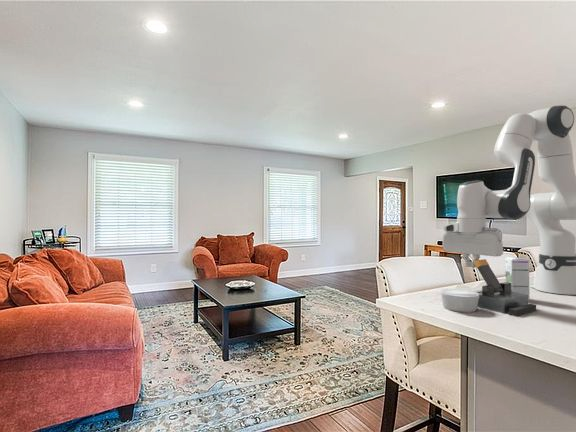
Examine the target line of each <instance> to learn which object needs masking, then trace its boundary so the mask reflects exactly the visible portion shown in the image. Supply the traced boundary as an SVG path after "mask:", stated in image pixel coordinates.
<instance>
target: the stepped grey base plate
mask: <svg viewBox="0 0 576 432" xmlns="http://www.w3.org/2000/svg"><path fill="white" fill-rule="evenodd" d="M499 283H500V284H501V286H502V288H503V291H502V292H498V293H494V286H493V285H487V284H486V285H482V286H481V287H482V288H481V289H478V290H473V291H474V292H477V293H479V295H480V297H479V299H478V305H477V308H480V309H484V310H488V311H493V312H497V313H501V314H507V313H508V314H509V309H510V308H514V307H519V306H523V305H527V304H529V301H528V295H526V294H520V293H514V292H511V283H508V282H506V281H504V282H499Z"/></svg>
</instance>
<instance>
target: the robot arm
mask: <svg viewBox="0 0 576 432" xmlns="http://www.w3.org/2000/svg"><path fill="white" fill-rule="evenodd" d="M574 123H575V114H574V112H573V111H572V109H571V108H569V107H568V106H566V105H553V106H551V107H547V108H546V107H545V108H540V109H537V110H534V111H531V112H529V113H528V112H527V113H524V112H521V113H514V114H513V115H511V116H510V117H508V118H507V120H506V121H505V123H504V125H503V126H502V128H501V130H500V133H499V134H498V136H497V139H496V140H495V144H494V147H493V153H494V156H495V158H496V159H497V160H498V161H499V162H500V163H502V164H504V165H505V166H508V167H514V171H513V178H512V181H511V186H509V187H507V188H506V189H501V190H492V189H490V188H488V187H487V186H486V185H485V183H484V181H483V180H471V181H465V182H462V183H461V184H459V186H458V190H457V194H456V195H457V197H456V206H457V211H458V212H457V217H456V222H453V223H449V224H445V225H444V226H443V232H444V233H443V235H442V249H443V251H444V252H445V253H457V254H462V259H463V260H464V262H465V267H468V268H474V269H476V266H475V264H474V263H473V262H475V261H477V260H480V258H481V256H486V257H487V256H489V257H501V256H502V255H503V254H504V245H503V241H502V240H503V232H502V231H501V230H500V229H498V228H497V227H487V226H486V225H487V224H486V220H487V218H489V219H490V218H491V219H509V220H520V219H522V218H523V217H526V218H528V219H529V220H530V221H531V222H532V223H533V225H535V228H536V229H537V232H538V235H539V249H540V251H539V253H540V254H538V263H539V264H538V265H537V266H536V267H535V268H534V269H535V270H534V278H533V279H534V281H533V284H531V283H530V288H532V289H534V290H537V291H540V292H544V293H550V294H556V295H557V294H558V295H567V296H568V295H569V296H571V295H572V296H576V236H575V234H573V232H571V231H569V230H568V229H566V228H564V227H563V226H562V225H561V224H562V223H561V220H563V221H572V220H573V221H576V172H575V165H574V153H573V146H572V140H571V136H570V131H571V130H572V128H573V126H574ZM536 141H537V146H536V147H537V150H536V152H537V153H536V155H537V158H536V156H535V153H534V152H533V150H532V149H531V147H532V144H533V142H536ZM536 159H537V174H538V178H539V179H540V180H541V181H543V182H544V183H547V184H549V185H551V186H552V188H553V190H554V191H553V192H551V191H550V192H549V191H548V192H538V193H533V194H531V191H532V184H533V179H534V173H535V166H536ZM471 255H472V261H471V260H470V256H471Z"/></svg>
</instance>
